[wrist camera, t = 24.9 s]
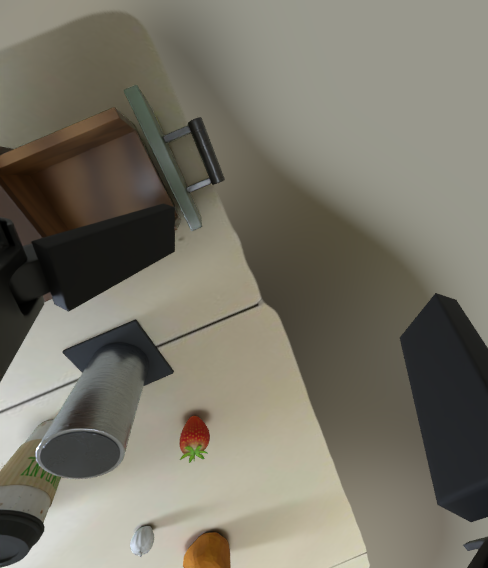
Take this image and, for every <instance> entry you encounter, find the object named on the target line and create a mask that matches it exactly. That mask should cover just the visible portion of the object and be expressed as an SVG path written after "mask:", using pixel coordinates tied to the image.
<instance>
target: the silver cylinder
mask: <svg viewBox="0 0 488 568" xmlns="http://www.w3.org/2000/svg"><path fill="white" fill-rule="evenodd" d="M148 367H149V361H148V358H147V356H146V354H145V353H144V352H143V351H142V350H141V349H140V348H138V347H136V346H134V345H131V344H128V343H120V342H119V343H111V344H107V345H105V346H103V347H101V348H99V349H98V350H97V351H96V352H95V353H94V355H93V357H92V358H91V360H90V361H89V363H88V365H87V366H86V368H85V370H84V371H83V373H82V375H81V376H80V378H79V380H78V381H77V383H76V385H75V386H74V388H73V389H72V391H71V393H70V394H69V396H68V398H67V399H66V401H65V403H64V404H63V406H62V408H61V409H60V411H59V413H58V414H57V416H56V418H55V419H54V421H53V422H52V424H51V426H50V427H49V429H48V431H47V432H46V434H45V436H44V437H43V439H42V441H41V442H40V444H39V446H38V447H37V450H36V460H37V462H38V464H39V465H40V466H41V467H42V468H43V469H44V470H46V471H47V472H49V473H51V474H53V475H56V476H59V477H63V478H70V479H86V478H93V477H97V476H101V475H104V474H106V473H108V472H110V471H112V470H113V469H115V468H116V467H117V466H118V465H119V464H120V463H121V462H122V460H123V458H124V455H125V451H126V447H127V444H128V440H129V436H130V433H131V429H132V425H133V422H134V418H135V414H136V411H137V407H138V403H139V400H140V396H141V392H142V389H143V385H144V381H145V378H146V374H147V370H148Z"/></svg>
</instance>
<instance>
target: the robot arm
mask: <svg viewBox="0 0 488 568" xmlns="http://www.w3.org/2000/svg"><path fill="white" fill-rule="evenodd" d="M31 243H32V244H28V245H25V246H22V243H21V241H20V238H19V236H18V233H17V231H16V228H15V226H14V223H13V222H12V221H11V220H10V219H7V218H3V217H0V382H1V380H2V378H3V376H4V374H5V373H6V371H7V369H8V367H9V366H10V364H11V362H12V360H13V358H14V357H15V355H16V353H17V351H18V350H19V348H20V346H21V344H22V342H23V341H24V339H25V337H26V335H27V334H28V332H29V330H30V328H31V326H32V325H33V323H34V321H35V319H36V318H37V316H38V314H39V312H40V310H41V309H42V307H43V305H44V301H45V300H44V298H43V295H45V294H47V293H49V292H50V293H51V296H52V298H53V301H54V304H55V305H57V306H59V307H61V308H63V309H65V310H67V311H71V310H72V309H74V308H76V307H78V306H79V305H81V304H83V303H85V302H86V301H88V300H90V299H92V298H93V297H95V296H97V295H99V294H101V293H102V292H104V291H106V290H108V289H109V288H111V287H113V286H115V285H116V284H118V283H120V282H122V281H123V280H125V279H127V278H129V277H131V276H132V275H134V274H136V273H138V272H139V271H141V270H143V269H145V268H146V267H148V266H150V265H152V264H153V263H155V262H157V261H159V260H161V259H162V258H164V257H166V256H168V255H169V254H171V253H173V252H175V207H173V206H170V205H167V204H164V203H163V204H160V205H156V206H153V207H149V208H146V209H142V210H139V211H135V212H132V213H128V214H125V215H121V216H118V217H114V218H111V219H107V220H104V221H100V222H97V223H93V224H90V225H86V226H83V227H79V228H76V229H72V230H68V231H65V232H61V233H58V234H54V235H51V236H47V237H44V238H40V239H37V240H33V241H31ZM400 341H401V346H402V350H403V354H404V359H405V363H406V368H407V372H408V376H409V381H410V385H411V389H412V394H413V399H414V403H415V407H416V411H417V416H418V421H419V425H420V429H421V434H422V438H423V443H424V447H425V451H426V456H427V460H428V465H429V469H430V473H431V478H432V482H433V486H434V491H435V495H436V500H437V504H438V505H439V506H441V507H443V508H445V509H447V510H449V511H451V512H453V513H455V514H456V515H458V516H460V517H462V518H464V519H466V520H468V521H470V522H473V521H476V520H480V519H483V518H486V517H488V348H487V346H486V345H485V343H484V342H483V340H482V339H481V337H480V336H479V334H478V333H477V331H476V330H475V328H474V326H473V325H472V324H471V322H470V320H469V319H468V317H467V316H466V315H465V313H464V311H463V310H462V308H461V307H460V305H459V304H458V302H457V300H455V299H452V298H449V297H446V296H443V295H440V294H437V293H435V295H434V296H433V297H432V298H431V300H430V301H429V302H428V303H427V305H426V306H425V307H424V308H423V309H422V311H421V312H420V313H419V314H418V316H417V317H416V318H415V319H414V321H413V322H412V323H411V324H410V326H409V327H408V328H407V329H406V331H405V332H404V333H403V334H402V336H401V337H400ZM464 547H465V548H466V549H467V550H468V551H470V550H474V549H478V552H477V553H476V555H475V556H474V558H473V560H472V561H471V563H470V564H469V566H468V567H467V568H488V537H485V538H481V539H477V540H473V541H469V542H468V543H466V544H464Z"/></svg>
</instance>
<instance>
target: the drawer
mask: <svg viewBox="0 0 488 568" xmlns="http://www.w3.org/2000/svg"><path fill="white" fill-rule="evenodd" d="M124 93H125V95H126V97H127V99H128V101H129V103H130V105H131V107H132V109H133V111H134V113H135V115H136V117H137V120H138V122H139V124H140V126H141V128H142V130H143V132H144V134H145V136H146V138H147V140H148V142H149V144H150V146H151V148H152V150H153V153H154V155H155V157H156V159H157V161H158V163H159V165H160V167H161V169H162V171H163V173H164V175H165V177H166V179H167V181H168V183H169V186H170V188H171V190H172V192H173V194H174V196H175V198H176V200H177V202H178V204H179V206H180V208H181V210H182V212H183V214H184V216H185V219H186V221H187V223H188V225H189V227H190V229H191V231H193V230H196V229H198V228H201V227H202V220H201V215H200V213H199V211H198V209H197V207H196V204H195V202H194V200H193V198H192V196H191V193H190V192H193V191H195V190H197V189H200V188H202V187H204V186H207V185H209V184H211V183H212V185H214V184H217V183H219V182H222V181H223V180H224V176H223V174H222V171H221V168H220V166H219V163H218V161H217V158H216V155H215V152H214V150H213V147H212V145H211V142H210V139H209V137H208V134H207V132H206V129H205V126H204V123H203V121H202V118H201V117H200V118H196V119H193V120H191V121H190V122H188V126H186V127H183V128H181V129H179V130H176V131H174V132H171V133H169V134H167V135H164V134H163V131H162V129H161V127H160V125H159V123H158V120H157V118H156V116H155V114H154V112H153V109H152V108H151V106H150V104H149V103H148V101H147V100H146V98H145V97H144V95H143V94H142V92H141V90H140V89H139V87H138V86H137V85H134V86H132V87H130V88H127V89H125V90H124ZM190 133H191V134H192V136H193V139H194V141H195V144H196V146H197V149H198V151H199V153H200V156H201V158H202V161H203V163H204V166H205V168H206V171H207V173H208V176H209V178H207V179H205V180H203V181H200V182H198V183H196V184H193V185H191V186H189V187H187V184H186V182H185V180H184V178H183V176H182V173H181V171H180V169H179V167H178V165H177V162H176V160H175V158H174V156H173V154H172V151H171V149H170V147H169V145H168V143H169V142H171V141H174V140H176V139H178V138H181V137H183V136H185V135H188V134H190ZM0 177H1V178H2V179H3V180H4V182H5V183H6V184H7V186H8V187H9V188H10V189H11V191H12V192H13V193H14V194H15V196H16V197H17V198H18V200H19V201H20V202H21V203H22V205H23V206H24V207H25V208H26V210H27V211H28V212H29V214H30V215H31V216H32V217H33V219H34V220H35V221H36V222H37V224H38V225H39V226H40V227H41V229H42V230H43V231H44V233H45V234H46V235H47V236H51V235H54V234H58V233H61V232H65V231H68V230H72V229H76V228H79V227H83V226H86V225H90V224H93V223H97V222H100V221H104V220H107V219H111V218H114V217H118V216H121V215H125V214H128V213H132V212H135V211H139V210H142V209H146V208H149V207H153V206H156V205H160V204H163V203H164V204H167V205H170V206H173V207H174V205H173V203H172V201H171V199H170V197H169V195H168V193H167V191H166V189H165V187H164V185H163V183H162V181H161V179H160V176H159V174H158V172H157V170H156V168H155V166H154V164H153V162H152V160H151V158H150V156H149V154H148V152H147V150H146V148H145V146H144V144H143V142H142V140H141V138H140V136H139V134H138V132H137V130H136V128H135V126H134V124H133V123H132V122H131V121H129V120H128V119H127V118H126V117H125V116H124V115H123V114H121V113H120V112H119V111H118V110H117V109H116V108H115V107H113V108H111V109H108V110H106V111H104V112H101V113H99V114H97V115H94V116H92V117H89V118H87V119H85V120H82V121H80V122H78V123H75V124H73V125H71V126H68V127H66V128H63V129H61V130H59V131H56V132H54V133H52V134H49V135H47V136H44V137H42V138H40V139H37V140H35V141H33V142H30V143H28V144H25V145H23V146H21V147H18V148H16V149H14V150H11V151H9V152H6V153H4V154H2V155H0ZM180 222H181V219H180V217H179V215H178V213H177V211H176V209H175V230H177V228H178V226H179V224H180Z"/></svg>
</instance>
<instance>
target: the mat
mask: <svg viewBox="0 0 488 568" xmlns="http://www.w3.org/2000/svg"><path fill="white" fill-rule="evenodd" d="M119 342H120V343H128V344H131V345H134V346H136V347H138V348H140V349H141V350H142V351H143V352H144V353H145V354H146V356H147V358H148V361H149V367H148V370H147V374H146V378H145V381H144V385H143V386H145V385H147V384H149V383H152V382H154V381H156V380H159V379H161V378H163V377H166V376H168V375H170V374H173V372H174V371H173V370H172V368H171V367H170V366H169V364H168V363H167V362H166V360H165V359H164V357H163V356H162V355H161V353H160V352H159V351H158V349H157V348H156V346H155V345H154V344H153V342H152V341H151V340H150V338H149V337H148V336H147V334H146V333H145V331H144V330H143V329H142V327H141V326H140V325H139V323H138V322H137V320H134V321H131V322H129V323H127V324H124V325H122V326H120V327H117V328H115V329H112V330H110V331H108V332H105V333H103V334H101V335H98V336H96V337H94V338H91V339H89V340H87V341H84V342H82V343H80V344H77V345H75V346H73V347H70V348H68V349H66V350H64V351H63V352H62V353H63V354H64V355H65V356H66V357H67V358H68V359H69V360H70V361H71V362H72V363H73V364H74V365H75V366H76V367H77V368H78V369H79V370H80V371H81V372H82V373H83V371H84V370H85V368H86V366H87V365H88V363H89V361H90V360H91V358H92V357H93V355H94V353H95V352H96V351H97V350H98V349H99V348H101V347H103V346H105V345H107V344H111V343H119Z"/></svg>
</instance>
